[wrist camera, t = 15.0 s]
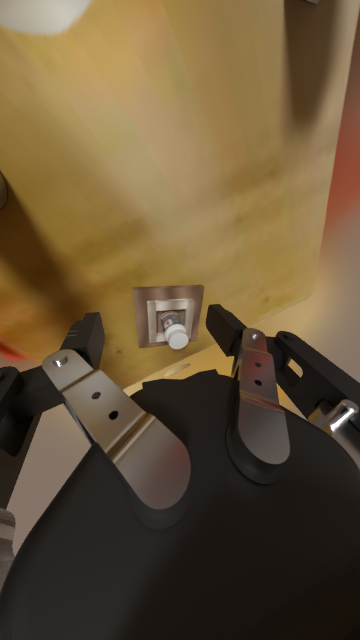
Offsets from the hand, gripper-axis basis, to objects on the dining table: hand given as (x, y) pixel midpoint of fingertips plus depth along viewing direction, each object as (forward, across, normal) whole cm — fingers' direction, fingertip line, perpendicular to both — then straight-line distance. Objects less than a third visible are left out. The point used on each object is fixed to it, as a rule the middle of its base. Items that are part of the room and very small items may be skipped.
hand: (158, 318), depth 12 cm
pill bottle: (+27, -7, +17) cm, 32 cm away
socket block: (+28, -7, +17) cm, 34 cm away
